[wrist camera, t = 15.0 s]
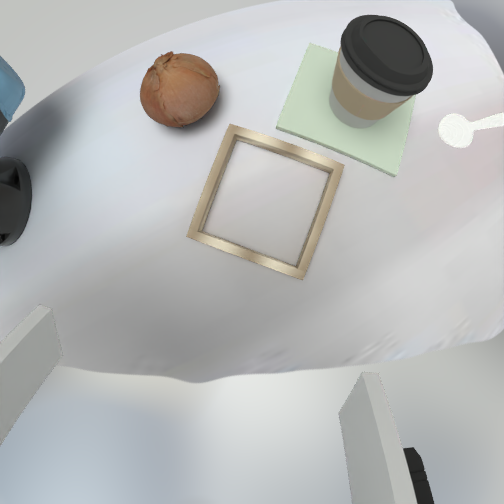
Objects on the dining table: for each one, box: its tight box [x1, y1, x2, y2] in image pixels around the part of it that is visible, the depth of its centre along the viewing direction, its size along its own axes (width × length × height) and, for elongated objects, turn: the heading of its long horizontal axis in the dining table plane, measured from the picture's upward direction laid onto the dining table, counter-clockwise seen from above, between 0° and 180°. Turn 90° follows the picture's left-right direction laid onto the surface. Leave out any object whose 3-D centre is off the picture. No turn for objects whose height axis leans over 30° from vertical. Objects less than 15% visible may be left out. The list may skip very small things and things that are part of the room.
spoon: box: [438, 113, 504, 148], centre depth 33 cm, size 5×18×1 cm, turn 111°
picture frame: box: [186, 124, 344, 280], centre depth 35 cm, size 14×14×2 cm
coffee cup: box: [329, 15, 433, 128], centre depth 26 cm, size 9×9×15 cm
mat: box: [276, 43, 416, 177], centre depth 34 cm, size 16×14×1 cm
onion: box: [140, 51, 220, 127], centre depth 31 cm, size 10×9×10 cm
